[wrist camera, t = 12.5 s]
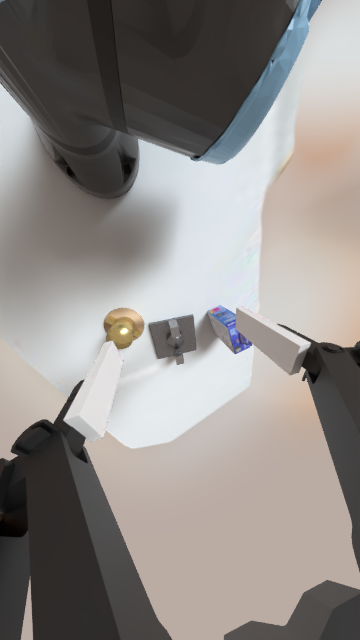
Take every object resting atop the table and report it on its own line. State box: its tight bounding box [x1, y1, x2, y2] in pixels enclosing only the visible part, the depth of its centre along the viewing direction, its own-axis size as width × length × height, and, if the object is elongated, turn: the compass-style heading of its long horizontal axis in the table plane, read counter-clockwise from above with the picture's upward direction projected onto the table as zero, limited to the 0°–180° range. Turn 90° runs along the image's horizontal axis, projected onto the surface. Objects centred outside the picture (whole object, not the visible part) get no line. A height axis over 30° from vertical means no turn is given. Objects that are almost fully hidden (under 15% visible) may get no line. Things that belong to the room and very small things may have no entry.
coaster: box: [104, 308, 144, 340], centre depth 38 cm, size 11×11×1 cm
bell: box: [105, 315, 142, 349], centre depth 34 cm, size 10×6×7 cm, turn 53°
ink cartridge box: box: [208, 306, 252, 354], centre depth 38 cm, size 10×6×14 cm, turn 24°
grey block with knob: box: [149, 314, 196, 365], centre depth 41 cm, size 14×14×6 cm
